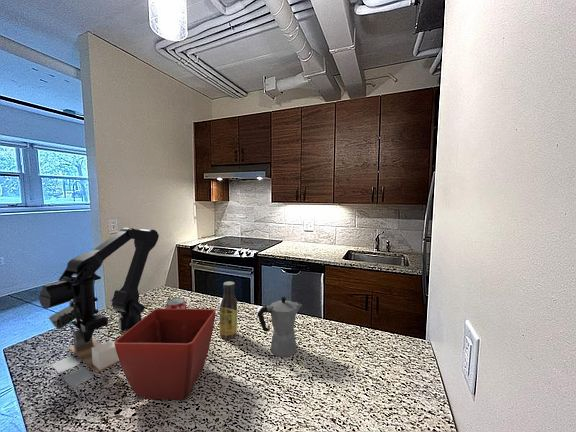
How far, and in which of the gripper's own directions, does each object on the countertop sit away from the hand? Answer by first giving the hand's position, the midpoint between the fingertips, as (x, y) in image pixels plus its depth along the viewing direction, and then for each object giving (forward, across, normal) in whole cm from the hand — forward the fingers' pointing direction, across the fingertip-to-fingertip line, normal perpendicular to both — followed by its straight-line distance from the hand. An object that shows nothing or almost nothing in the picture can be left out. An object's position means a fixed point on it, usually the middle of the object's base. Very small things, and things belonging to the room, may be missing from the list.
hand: (86, 341), depth 85 cm
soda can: (+3, +16, +22) cm, 28 cm away
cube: (+2, +14, 0) cm, 14 cm away
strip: (+3, +6, 0) cm, 7 cm away
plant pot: (+3, +37, +7) cm, 38 cm away
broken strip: (+3, +9, -7) cm, 12 cm away
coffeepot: (+3, +54, +35) cm, 64 cm away
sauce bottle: (+3, +33, +32) cm, 46 cm away
